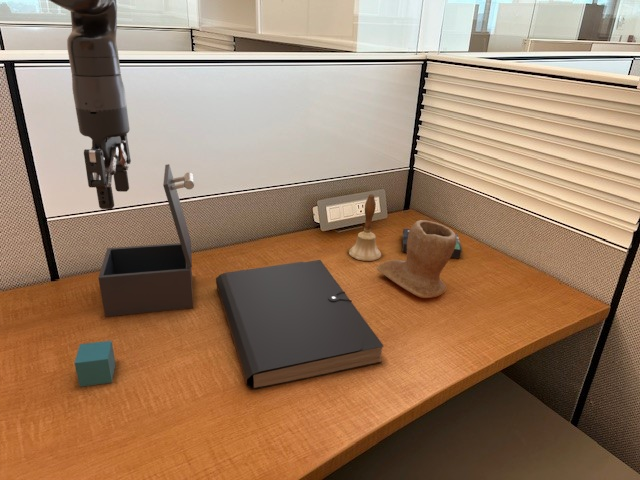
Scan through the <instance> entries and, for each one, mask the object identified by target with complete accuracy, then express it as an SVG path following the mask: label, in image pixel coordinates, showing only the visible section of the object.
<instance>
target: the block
mask: <svg viewBox="0 0 640 480" xmlns="http://www.w3.org/2000/svg"><path fill="white" fill-rule="evenodd" d="M116 363H117V362H116V357H115V352H114V347H113V340H103V341H96V342H95V341H94V342H87V343H80V344H79V346H78V350H77V352H76V356H75V360H74V367H75V372H76V373H75V374H76V377H77V382H78V386H79V388H82V387H90V386H97V385H105V384H112V383H113V381H114V375H115V368H116Z"/></svg>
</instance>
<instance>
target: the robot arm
mask: <svg viewBox="0 0 640 480" xmlns="http://www.w3.org/2000/svg"><path fill="white" fill-rule="evenodd" d="M48 1H49V2H51V3H53V4H54V5H57V6H58V7H60V8H63V9H65V10H67V11H69V12H70V19H71V20H70V21H71V31H70V33H69V35H68V37H67V39H66V44H67V45H66V48H67V55H68V60H69V61H68V62H69V67H70V72H71V85H72V88H71V89H72V95H73V101H74V107H75V114H76V118H77V124H78V130H79V133H80V134H81V135H82V136H84V137H88V138H90V139H91V149H84V150H83V158H84V165H85V171H86V177H87V178H86V179H87V185H88V187H89V188H95V189H96V195H97V202H98V207H99V209H101V210H112V209H113V208H115V200H114V194H113V186H112V180H113V181H114V188H115V191H116V192H121V193H122V192H124V193H125V192H128V191H129V190H130V185H129V177H128V171H129V165H131V161H132V160H131V154H130V147H129V141H128V133H129V132H130V129H131V128H130V122H129V114H128V107H127V105H128V104H127V98H126V90H125V85H124V82H123V78H122V74H121V73H122V72H121V71H122V70H121V64H120V59H119V58H120V56H119V51H118V46H117V33H118V32H117V28H118V13H117V12H118V5H117V0H48Z"/></svg>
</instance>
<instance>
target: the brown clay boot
mask: <svg viewBox="0 0 640 480" xmlns="http://www.w3.org/2000/svg"><path fill="white" fill-rule="evenodd" d="M409 229H410V231H409V234H408V240H407V253H406V260H405V259H404V260H400V259H389V260H385V261H384V262H382V263H380V264H378V266H377V268H376V270H377V271H378V272H379V273H380V274H382V275H384V276H385V277H387V278H388V279H389V280H390V281H392V282H393V283H395V284H396V285H398V286H399V287H401V288H402V289H404V290H405V291H407V292H409V293H411V294H413V295H414V296H416V297H418V298H420V299H432V298H436V297H439V296H441V295H443V294H444V293H445V292H446V290H447V285H446V284H445V283H444V282H443V281H442V279H441V273H442V271H443V270H444V268H445V267H446V265H447V263H448V262H449V261H450V259H451V258H452V257H451V255H452V253H453V251H454V249H455V246H456V233H455V231H454V230H453V229H451V228H450V227H447V226H446V225H444V224H441V223H438V222H435V221H431V220H425V219H420V220H417V221H415V222H414V223H413V224H412V225H411V227H409Z"/></svg>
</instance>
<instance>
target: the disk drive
mask: <svg viewBox="0 0 640 480" xmlns="http://www.w3.org/2000/svg"><path fill="white" fill-rule="evenodd" d="M409 231H410V228H403V229H402V252H403V253H406V254H407V240H408V234H409ZM455 235H456V246H455V249H454V251H453V253H452V255H451V257H450V258H456V259H457V258H458V259H461V256H462V251H463V250H462V249H463V248H462V245H461V241H460V238H459V234H457V233H455Z"/></svg>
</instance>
